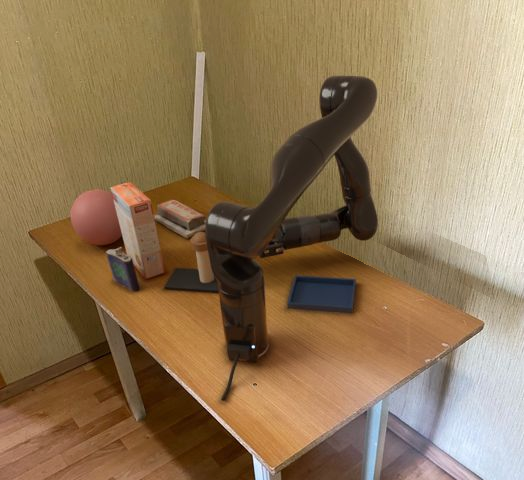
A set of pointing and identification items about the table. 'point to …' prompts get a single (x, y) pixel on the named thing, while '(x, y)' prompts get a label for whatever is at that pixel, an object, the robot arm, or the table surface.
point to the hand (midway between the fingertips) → (236, 242)
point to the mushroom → (202, 257)
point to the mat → (190, 281)
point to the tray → (322, 294)
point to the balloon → (96, 217)
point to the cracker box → (138, 229)
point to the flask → (122, 269)
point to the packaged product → (180, 218)
